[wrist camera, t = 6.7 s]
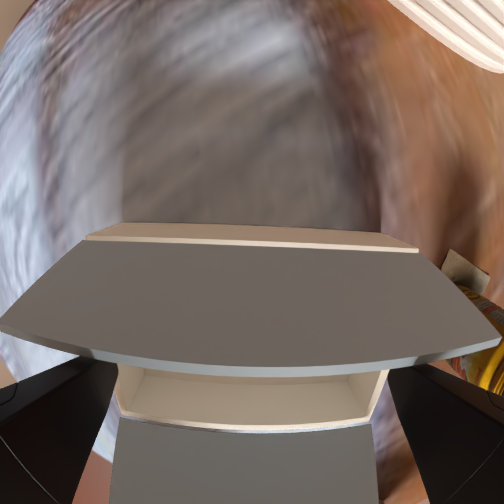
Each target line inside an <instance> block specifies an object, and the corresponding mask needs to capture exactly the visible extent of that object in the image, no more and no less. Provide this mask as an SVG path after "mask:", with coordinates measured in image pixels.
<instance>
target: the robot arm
mask: <svg viewBox="0 0 504 504" xmlns="http://www.w3.org/2000/svg"><path fill="white" fill-rule="evenodd" d="M118 374H119V371H118V366H117V363H113V362H108V361H103V360H98V359H93V358H89V357H84V356H79V357H76V358H74V359H72V360H70V361H67V362H65V363H62V364H60V365H58V366H55V367H53V368H51V369H48V370H46V371H44V372H41V373H39V374H36V375H34V376H31V377H29V378H27V379H24V380H22V381H19V382H18V383H14V384H12V385H9V386H7V387H4V388H1V389H0V504H72V501H73V499H74V496H75V492H76V490H77V487H78V484H79V481H80V479H81V476H82V473H83V470H84V468H85V465H86V462H87V460H88V457H89V455H90V452H91V450H92V447H93V445H94V442H95V440H96V437H97V435H98V432H99V430H100V428H101V425H102V423H103V421H104V418H105V416H106V413H107V410H108V407H109V404H110V401H111V397H112V394H113V391H114V388H115V384H116V381H117V378H118ZM388 384H389V387H390V391H391V394H392V397H393V401H394V404H395V407H396V411H397V414H398V417H399V420H400V422H401V425H402V427H403V430H404V432H405V435H406V437H407V440H408V442H409V445H410V448H411V450H412V453H413V456H414V458H415V461H416V464H417V466H418V469H419V472H420V475H421V478H422V481H423V484H424V486H425V489H426V492H427V495H428V499H429V502H430V504H504V397H503V396H501V395H498V394H496V393H493V392H491V391H489V390H485V389H484V388H481V387H479V386H477V385H474V384H472V383H470V382H467V381H465V380H463V379H460V378H458V377H456V376H454V375H451V374H449V373H447V372H445V371H442V370H440V369H438V368H436V367H433V366H431V365H429V364H427V363H424V364H419V365H413V366H408V367H401V368H395V369H390V371H389V373H388Z"/></svg>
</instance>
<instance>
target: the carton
mask: <svg viewBox="0 0 504 504" xmlns="http://www.w3.org/2000/svg"><path fill="white" fill-rule="evenodd" d="M86 240H95V241H128V242H159V243H189V244H216V245H243V246H269V247H294V248H318V249H341V250H363V251H385V252H406V253H418V251H419V249H418V248H416V247H414V246H411V245H409V244H407V243H404V242H402V241H400V240H397V239H395V238H392V237H390V236H388V235H385V234H383V233H377V232H363V231H348V230H332V229H314V228H296V227H275V226H252V225H224V224H190V223H128V222H123V223H120V224H117V225H114V226H111V227H108V228H105V229H103V230H100V231H97V232H94V233H92V234H89V235H86ZM117 366H118V371H119V374H118V378H117V381H116V384H115V388H114V392H115V395H116V398H117V401H118V404H119V407H120V410H121V413H122V415H125V416H130V417H135V418H140V419H145V420H150V421H156V422H162V423H169V424H176V425H183V426H192V427H202V428H214V429H229V430H294V429H310V428H321V427H331V426H340V425H347V424H354V423H361V422H367V421H369V419H370V417H371V415H372V412H373V410H374V408H375V405H376V403H377V400H378V398H379V395H380V393H381V390H382V388H383V385H384V382H385V380H386V377H387V374H388V371H389V369H388V370H380V371H372V372H364V373H354V374H342V375H329V376H311V377H234V376H216V375H202V374H191V373H181V372H172V371H163V370H156V369H149V368H142V367H135V366H129V365H124V364H118V363H117Z"/></svg>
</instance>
